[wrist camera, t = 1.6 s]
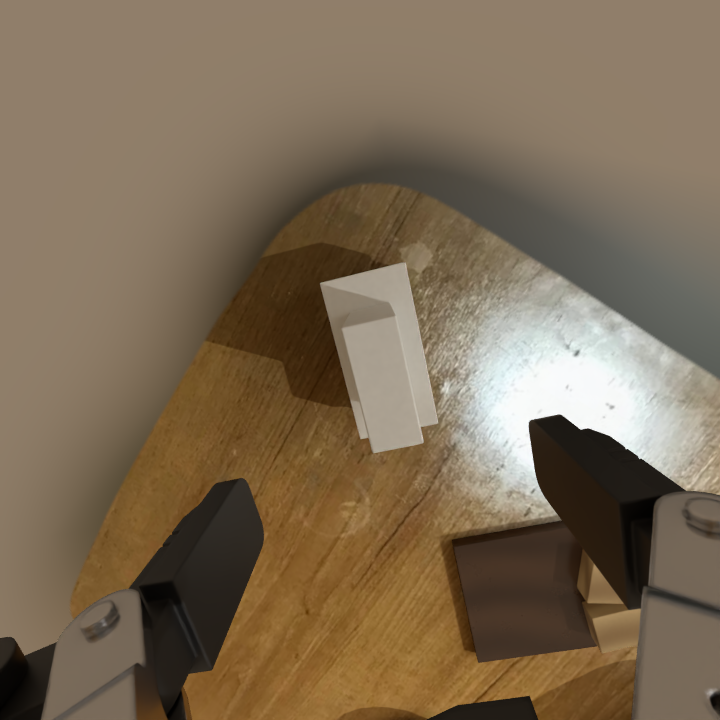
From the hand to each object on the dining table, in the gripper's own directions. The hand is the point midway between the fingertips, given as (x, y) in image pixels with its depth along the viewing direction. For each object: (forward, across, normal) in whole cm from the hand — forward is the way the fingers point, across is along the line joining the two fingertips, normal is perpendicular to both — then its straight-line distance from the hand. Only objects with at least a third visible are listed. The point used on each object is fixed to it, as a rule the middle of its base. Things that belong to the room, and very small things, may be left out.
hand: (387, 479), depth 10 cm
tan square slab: (+15, -13, +25) cm, 32 cm away
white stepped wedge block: (+16, 0, -1) cm, 16 cm away
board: (+16, -10, +22) cm, 29 cm away
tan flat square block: (+15, -13, +21) cm, 29 cm away
